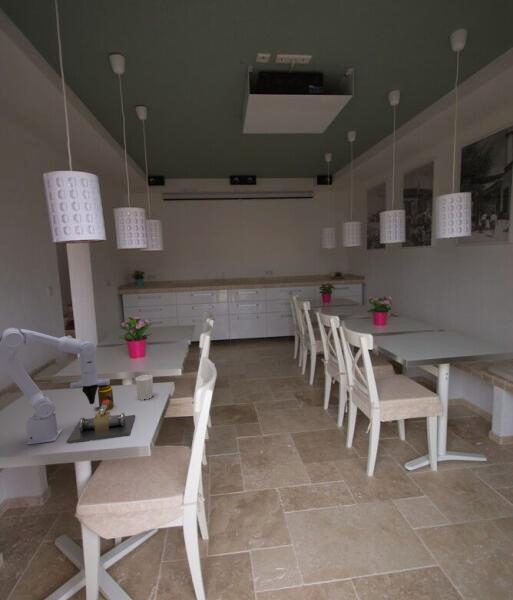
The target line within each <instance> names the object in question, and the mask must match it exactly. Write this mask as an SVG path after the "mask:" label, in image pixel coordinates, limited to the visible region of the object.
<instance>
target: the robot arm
mask: <svg viewBox="0 0 513 600" xmlns="http://www.w3.org/2000/svg"><path fill="white" fill-rule="evenodd" d="M32 343H38V344H42V345H49V346H53V347H57V349H58V351H59V352H64V353H68V354H74V355H78V354H79V365H80V374H81V380H80V381H73V382H71V383H70V384H69V386H70V387H69V388H70V390H72V389H76V388H77V389H78V388H82V389H81V390H82V392H83V394H84V395H85V397H86V398H87V400H88V402H89V405H94V403H95V400H96V394H97V392H98V386H99V385H109V384H110V382H111V380H110V378H98V369H97V360H96V359H97V358H96V353H97V350H98V349H97V348H96V346H95V344H93V343H92V342H91V341H88V340H86V339H84V338H83V339H82V338H81V339H77V338H73V336H72V335H67V336H66V335H65V336H61V337H55V336H54V335H53V336H52V335H49V334H45V333H41V332H38V331H35V330H29V329H25V328H17V327H9V328H5V330H3V331H2V333H1V335H0V365H1V366H2V368H3V369H4V371H5V372H6V373H7V374H8V375H9V377H10V378H11V380H12V381H13V382H14V383H15V385H16V386H17V387H18V388H19V389H20V390H21V391H22V393H23V395H25V397H26V398H27V399H28V401H29V402H30V404H31V405H32V408H33V409H34V412H35V413H34V415H32V416H29V417H28V418H27V420H26V424H25V430H26V438H27V445H34V444H40V443H48V442H55V441H56V440H57V439H58V437H59V436H60V434H61V433H62V432H63V431H62V429H59V430H58V423H57V413H56V406H55V404H54V402H53V401H52V398H51V397H50V396H49V395H47V394H44V393H43V391H42V390H41V389H40V388H39V387H38V385H37V384H36V383H35V382H34V380H33V379H32V378H31V377H30V375H29V374H28V372H27V371H26V369H24V367H23V366H22V365H21V364H20V362H19V361H18V360H17V358H16V356H17V353H18V350H19V349H20V348H21V347H22V346H23V344H24V345H29V344H32Z"/></svg>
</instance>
